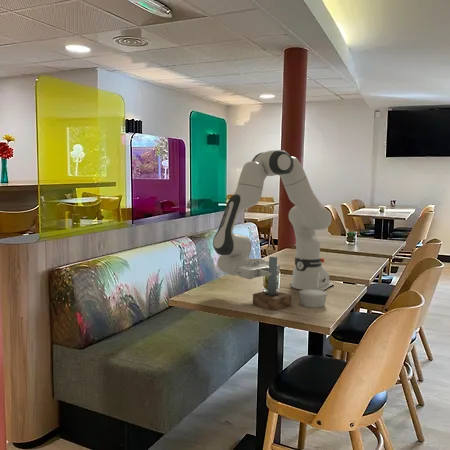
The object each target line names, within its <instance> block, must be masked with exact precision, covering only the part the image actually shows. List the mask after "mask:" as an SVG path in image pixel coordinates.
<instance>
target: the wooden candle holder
mask: <svg viewBox="0 0 450 450" xmlns="http://www.w3.org/2000/svg"><path fill="white" fill-rule="evenodd" d="M292 296H293V295H292V294H290V293H289V294H288V293H286V292H280V291H277V290H276V296H274V297H272V296H268V290H264V291H260V292H257V293H252V306H255V307H259V308H263V309H266V310H269V311H273V312H275V311H278V310H283V309H285V308H288V307H292Z"/></svg>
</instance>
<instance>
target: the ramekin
mask: <svg viewBox="0 0 450 450" xmlns="http://www.w3.org/2000/svg"><path fill="white" fill-rule="evenodd" d="M298 294H299V298H300V303H301V305H302V306H304V307H307V308H312V309H314V308H322V307H324V306H325V304H326V301H327V297H328V293H327V292H326V291H325V290H323V291H320V290H301V289H300V290H299V291H298Z"/></svg>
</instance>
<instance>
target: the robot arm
mask: <svg viewBox="0 0 450 450" xmlns="http://www.w3.org/2000/svg"><path fill="white" fill-rule="evenodd" d="M273 176H279V177H280V179H281V181H282V185H283V186H284V189H285V192H286V194H287V196H288V200H290V202H291V203H293V204H294V206H293V207H292V208H290V210H289V211H288V220H289V222H290V223H291V226H292V227H293V231H294V236H295V243H296V245H295V257H294V266H293V269H292V277H291V281H290V282H289V284H290V287H292V288H293V289H298V290H300V291H301V290H320V291H325V289H326V290H328V289H329V288H328V287H330V286H332V285H333V284H334V285H335V283H333V282H331V281H330V273H329V272H328V271H327V270H326V269H325V268H324V267H323V266H322V263H323V264H324V263H325V260H326V259H325V258H322V257H320V256H321V255H320V254H321V241H320V239H319V238H318V237H317V235H316V231H321V230H326V229H327V228H329V226H331V224H332V219H333V218H332V213H331V212H330V210H328V209H327V208H326V207H325V206H324V205H323V204H322V203H321V202H320V200H319V198H317V195H316V194H315V193H314V191H313V189H312V186H311V185H310V182H309V179H308V177H307V174H306V172H305V170H304V168H303V165H302V164H301V162H300V160H299V159H298V158H297V157H295V156H291V155H290V154H289V152H287V151H285V150H281V149H278V150H277V149H276V150H267V151H265V152H263V151H262V152H259V153H258V154H256V155H254V157H253V158H252V159H251V161H247V162H245V164H244V165H243V166H242V169H241V172H240V175H239V179H238V181H237V187H236V190H235V192H234V194H233V195H231V196H230V198H229V199H228V201H227V203H226V205H225V210H224V212H223V214H222V218H221V221H220V224H219V226H218V229H217V231H216V233H215V235H214V237H213V240H212V246H213V249H214V251H215V253H216V254H217V255H219V257H218V258H217V267H218V269H219V270H220V271H221V272H223V273H225V274H227V275H230V276H233V277H235V276H238V277H240V278H243V279H248V280H252V279H253V280H254V279H255V278H260V277H268V276H272V272H270V271H269V260H268V261H267V260H265V259H263V258H253V257H250V255H251V251H252V241H251V238H249V236H248V235H244V234H239V233H234V232H233V231H234V227H235V224H236V221H237V219H238V216H239V213H240V212H242V211H243V210H246V209H249V208H252V207H254V206H256V205H258V204H259V202H260V200H261V198H262V195H263V194H262V193H263V189H264V182H265V180H266V178H267V177H273ZM280 273H281V265H280V264H278V263H277V276H279V275H280ZM329 282H330V283H329ZM332 287H333V286H332ZM327 288H328V289H327ZM330 288H331V287H330Z"/></svg>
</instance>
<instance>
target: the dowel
mask: <svg viewBox="0 0 450 450" xmlns="http://www.w3.org/2000/svg"><path fill="white" fill-rule="evenodd" d="M268 259H269V260H268V262H269V271H270V272H272V276H267V277H268V279H267V281H268V282H267V291H268V296H272V297H274V296H276V291H277V276H278V275H277V264H278V257H277V256H269V257H268Z"/></svg>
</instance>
